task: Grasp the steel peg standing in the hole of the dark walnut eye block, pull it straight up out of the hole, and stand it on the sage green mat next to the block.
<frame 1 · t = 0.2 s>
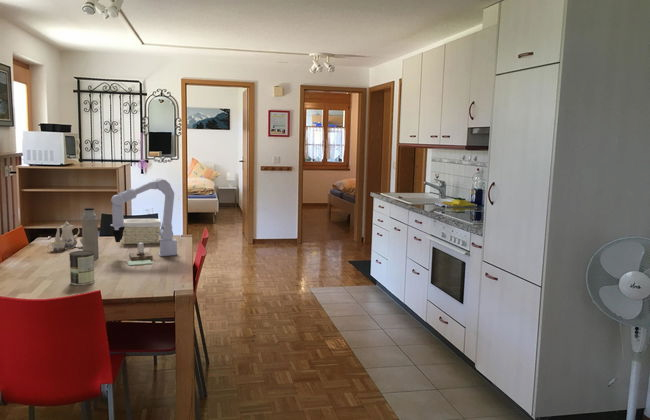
hand: (118, 240, 296), 10 cm above the table, tool pointing down, fingers open, 7 cm apart
thermos bottle: (90, 258, 297), on the table
sage mat: (139, 263, 287), on the table
storage basket: (141, 242, 345), on the table
steel peg: (140, 251, 296), in the eye block
chinaware: (70, 248, 323), on the table
eye block: (140, 258, 297), on the table
coffee can: (82, 282, 246), on the table
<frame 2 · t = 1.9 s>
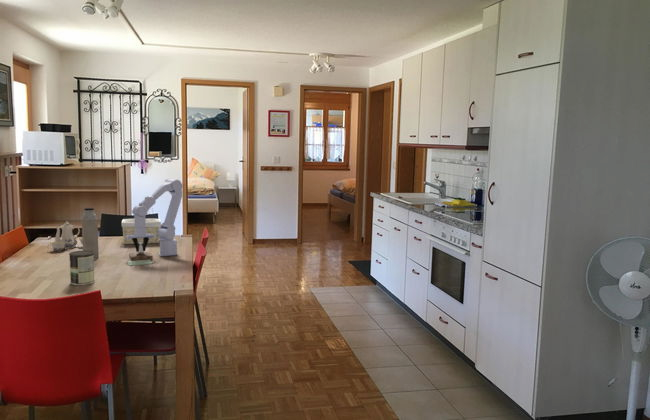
hand: (140, 251, 296), 4 cm above the table, tool pointing down, fingers closed on steel peg, 3 cm apart
steel peg: (140, 251, 296), in the eye block, touching gripper
everything else where it was.
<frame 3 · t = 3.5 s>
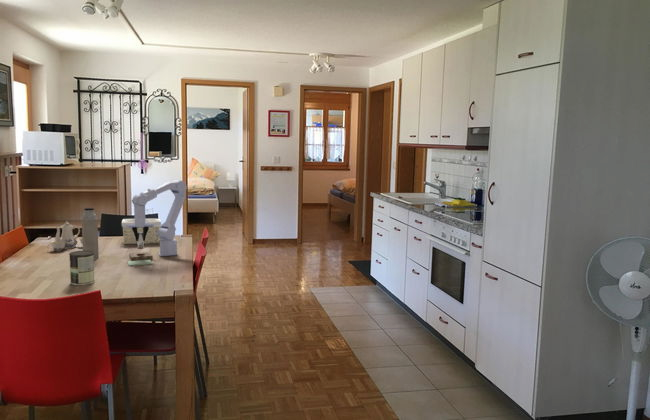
hand: (140, 240, 296), 10 cm above the table, tool pointing down, fingers closed on steel peg, 3 cm apart
steel peg: (140, 240, 296), point 10 cm above the table, touching gripper
everything else where it was.
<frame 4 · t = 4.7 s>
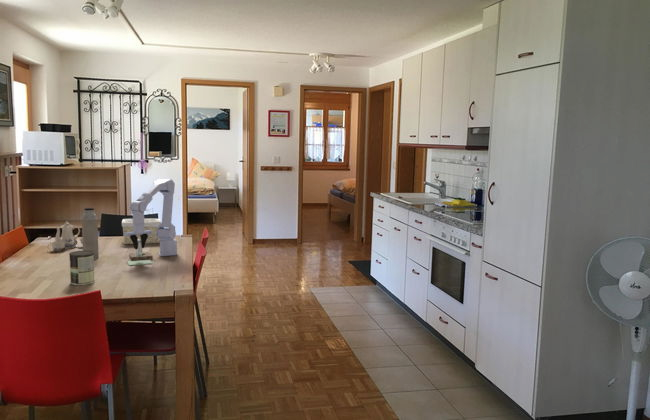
hand: (139, 248, 286), 8 cm above the table, tool pointing down, fingers closed on steel peg, 3 cm apart
steel peg: (139, 248, 286), point 8 cm above the table, touching gripper
everything else where it was.
when the fingers open (6 cm above the table, at t = 5.3 s): steel peg moves 1 cm, resting on sage mat.
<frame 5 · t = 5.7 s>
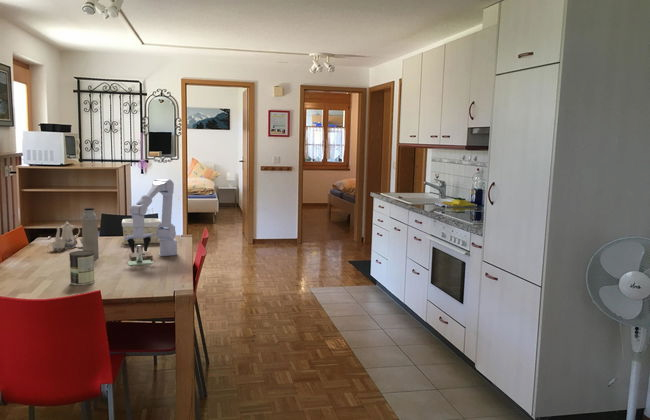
hand: (139, 251, 286), 6 cm above the table, tool pointing down, fingers open, 6 cm apart
steel peg: (139, 253, 286), on the sage mat, point 5 cm above the table
everything else where it was.
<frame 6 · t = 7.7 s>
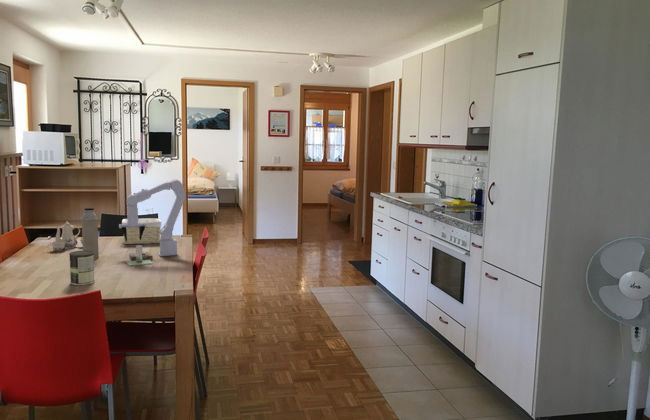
hand: (133, 240, 301), 10 cm above the table, tool pointing down, fingers open, 7 cm apart
nothing on the table moved.
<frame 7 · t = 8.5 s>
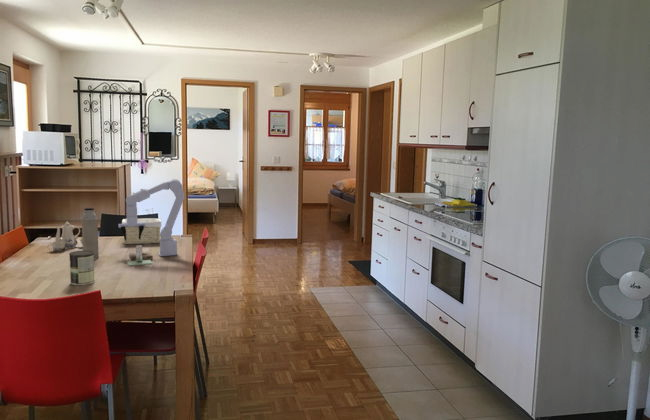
hand: (132, 239, 304), 9 cm above the table, tool pointing down, fingers open, 7 cm apart
nothing on the table moved.
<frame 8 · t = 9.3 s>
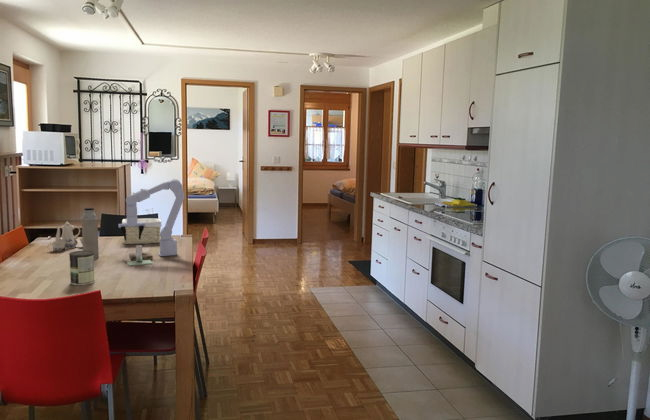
hand: (132, 239, 304), 9 cm above the table, tool pointing down, fingers open, 7 cm apart
nothing on the table moved.
at the end: steel peg inside the target area on the sage mat (0.4 cm from its centre), point 5.1 cm above the sage mat's base; steel peg tilted 1°; the gripper is holding nothing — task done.
